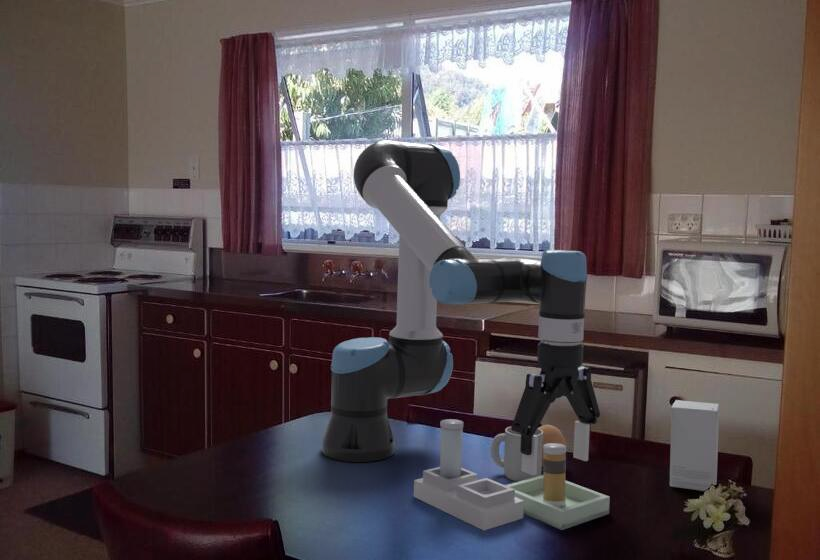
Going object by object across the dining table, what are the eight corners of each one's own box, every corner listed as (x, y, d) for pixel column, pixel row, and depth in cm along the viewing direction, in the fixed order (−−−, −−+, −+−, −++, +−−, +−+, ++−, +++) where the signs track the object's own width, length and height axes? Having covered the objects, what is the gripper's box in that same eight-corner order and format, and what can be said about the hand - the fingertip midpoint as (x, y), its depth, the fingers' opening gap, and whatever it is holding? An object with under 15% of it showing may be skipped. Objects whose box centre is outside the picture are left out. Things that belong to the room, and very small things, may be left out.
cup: (537, 484, 146) (539, 438, 145) (485, 477, 149) (487, 431, 148) (544, 472, 152) (546, 428, 152) (494, 466, 156) (495, 422, 155)
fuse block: (413, 496, 138) (415, 420, 136) (452, 486, 143) (454, 413, 142) (483, 530, 124) (486, 445, 122) (523, 518, 129) (526, 436, 128)
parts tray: (500, 503, 135) (500, 486, 135) (546, 489, 143) (547, 473, 143) (561, 530, 125) (562, 512, 124) (609, 513, 132) (609, 496, 132)
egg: (561, 474, 151) (563, 432, 151) (524, 469, 154) (526, 427, 153) (568, 464, 158) (570, 422, 157) (533, 458, 161) (534, 418, 160)
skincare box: (717, 483, 148) (721, 403, 147) (714, 494, 142) (719, 411, 141) (671, 476, 152) (675, 398, 151) (666, 486, 146) (671, 405, 145)
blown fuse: (538, 502, 134) (538, 445, 133) (553, 498, 136) (553, 442, 136) (555, 508, 131) (555, 450, 130) (570, 504, 133) (570, 446, 133)
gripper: (526, 351, 121) (521, 486, 123) (624, 339, 136) (618, 458, 138) (492, 344, 127) (488, 472, 128) (590, 333, 142) (584, 448, 144)
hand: (555, 465), depth 133 cm, fingers open, 12 cm apart
